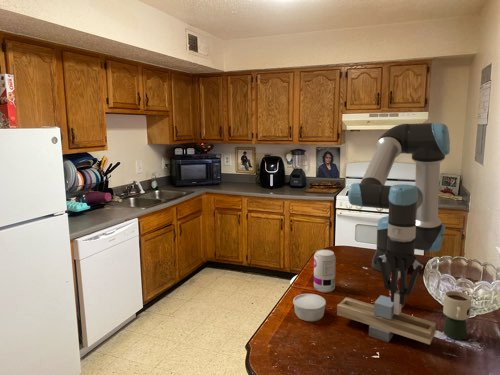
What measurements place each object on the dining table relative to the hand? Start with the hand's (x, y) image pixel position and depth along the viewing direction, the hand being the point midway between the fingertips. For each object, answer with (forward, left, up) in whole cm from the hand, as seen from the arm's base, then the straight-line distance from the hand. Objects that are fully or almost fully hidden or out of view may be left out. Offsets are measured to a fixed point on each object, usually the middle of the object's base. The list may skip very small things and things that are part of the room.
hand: (397, 312), depth 111 cm
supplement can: (-17, -33, -8) cm, 38 cm away
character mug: (-11, +14, -8) cm, 20 cm away
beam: (0, -4, -8) cm, 9 cm away
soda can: (-20, -6, -8) cm, 22 cm away
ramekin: (+4, -28, -8) cm, 29 cm away
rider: (0, -4, -3) cm, 5 cm away
